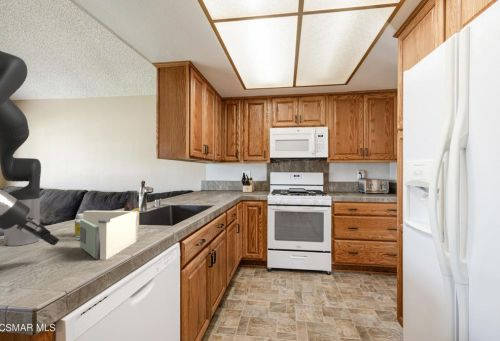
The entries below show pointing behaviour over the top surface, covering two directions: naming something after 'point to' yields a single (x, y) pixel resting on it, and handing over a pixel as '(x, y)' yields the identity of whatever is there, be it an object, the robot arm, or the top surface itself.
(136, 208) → the sauce bottle
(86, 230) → the door
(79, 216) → the supplement bottle
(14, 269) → the top surface
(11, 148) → the robot arm
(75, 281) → the top surface
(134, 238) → the cabinet frame
